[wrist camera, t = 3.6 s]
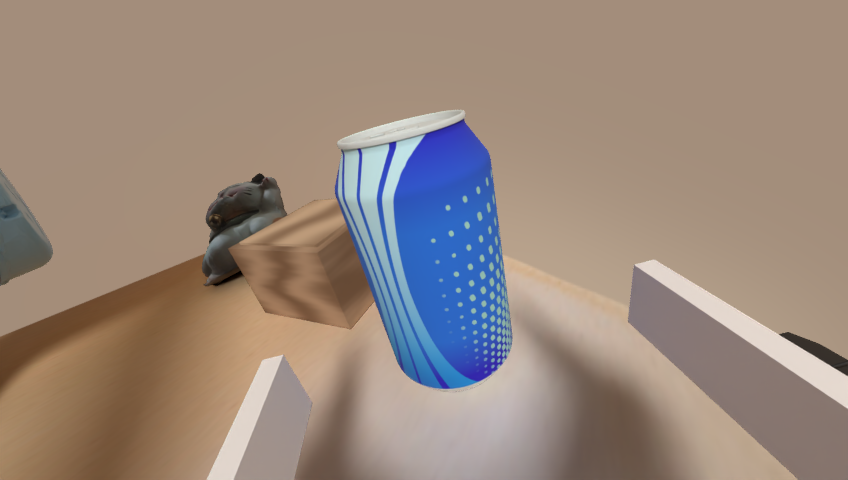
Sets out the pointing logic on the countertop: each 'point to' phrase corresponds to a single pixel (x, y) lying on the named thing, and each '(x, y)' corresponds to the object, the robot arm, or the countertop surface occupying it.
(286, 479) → the robot arm
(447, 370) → the beer can
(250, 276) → the block
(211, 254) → the lucky cat figurine
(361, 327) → the countertop surface
